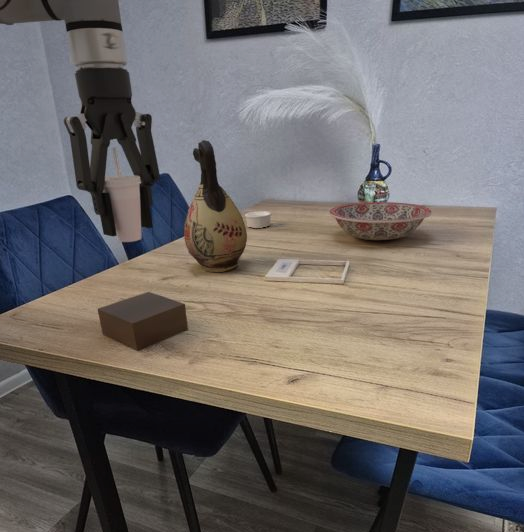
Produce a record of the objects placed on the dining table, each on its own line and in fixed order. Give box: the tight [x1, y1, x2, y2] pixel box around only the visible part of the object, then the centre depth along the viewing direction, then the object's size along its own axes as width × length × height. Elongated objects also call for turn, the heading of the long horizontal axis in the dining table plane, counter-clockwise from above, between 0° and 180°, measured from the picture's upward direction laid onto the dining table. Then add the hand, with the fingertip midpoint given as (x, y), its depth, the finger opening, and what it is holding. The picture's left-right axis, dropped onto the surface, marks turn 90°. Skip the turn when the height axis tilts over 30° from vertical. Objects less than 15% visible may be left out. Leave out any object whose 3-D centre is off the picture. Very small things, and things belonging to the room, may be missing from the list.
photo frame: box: [264, 258, 351, 285], centre depth 113 cm, size 15×1×18 cm
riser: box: [97, 291, 189, 352], centre depth 85 cm, size 11×11×5 cm
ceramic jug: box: [183, 139, 248, 273], centre depth 113 cm, size 17×15×30 cm
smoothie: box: [103, 147, 143, 243], centre depth 75 cm, size 6×6×14 cm
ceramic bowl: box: [328, 201, 433, 241], centre depth 139 cm, size 29×29×8 cm
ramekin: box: [244, 211, 272, 228], centre depth 161 cm, size 9×9×4 cm
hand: (128, 230), depth 78 cm, fingers closed on smoothie, 6 cm apart
